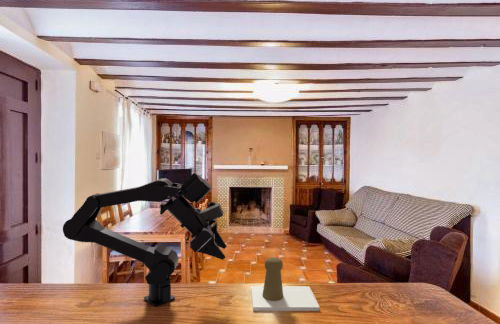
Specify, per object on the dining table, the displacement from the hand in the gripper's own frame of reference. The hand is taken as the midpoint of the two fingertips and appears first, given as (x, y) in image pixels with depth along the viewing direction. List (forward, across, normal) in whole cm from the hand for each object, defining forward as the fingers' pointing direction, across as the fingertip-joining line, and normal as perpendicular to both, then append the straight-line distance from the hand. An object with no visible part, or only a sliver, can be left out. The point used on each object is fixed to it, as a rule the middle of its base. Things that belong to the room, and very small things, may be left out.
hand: (225, 252), depth 95 cm
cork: (+19, 0, -1) cm, 19 cm away
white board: (+22, 0, -2) cm, 22 cm away
